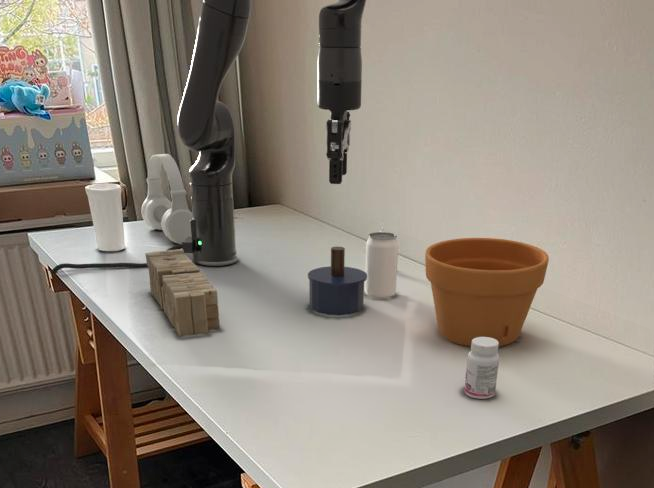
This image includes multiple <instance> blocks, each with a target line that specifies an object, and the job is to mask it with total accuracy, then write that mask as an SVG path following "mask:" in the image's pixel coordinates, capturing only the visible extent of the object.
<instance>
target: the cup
mask: <svg viewBox="0 0 654 488" xmlns="http://www.w3.org/2000/svg"><path fill="white" fill-rule="evenodd" d="M84 190H85V193H86V196H87V199H88V204H89V209H90V210H89V211H90V215H91V221H92V226H93V231H94V237H95V241H96V245H97V249H98V250H99V251H103V252H117V251H121V250H124V249H125V248H126V242H125V241H126V240H125V228H124V217H123V205H122V186H121V185H120V184H117V183H92V184H89V185H86V186H85V187H84Z"/></svg>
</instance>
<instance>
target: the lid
mask: <svg viewBox="0 0 654 488" xmlns="http://www.w3.org/2000/svg"><path fill="white" fill-rule="evenodd" d="M345 253H346V248H345V247H344V246H338V245H337V246H332V247H330V266H322V267H321V266H320V267H317V268H314V269H311V270H309V272H308V273H307V279H308V280H311V281H312V282H315V283H318V284H322V285H329V286H349V285H356V284H360V283H362V282H364V283H365V281H366V279H367V274H366V273H365V270H364V271H363V270H362V269H360V268H357V267H350V266H345V258H346V257H345V255H346V254H345Z"/></svg>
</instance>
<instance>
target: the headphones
mask: <svg viewBox="0 0 654 488" xmlns="http://www.w3.org/2000/svg"><path fill="white" fill-rule="evenodd" d="M162 166H163V168H164V171H165V173H166V177H167V180H168V184H169V188H170V189H169V190H170V191H169V194H170V197H171V200H169V199H168V198H167V197H166V196H165V195H164V190H163V187H162V181H163V180H162V177H161V176H162V175H161V174H162V173H161V172H162ZM147 167H148V168H147V178H146V183H147V195H146V198H145V199H144V201H143V202H142V205H141V208H140V209H141V210H140V213H141V217H142V219H143V221H144V223H145V224H146V225H147V226H148V227H150V228H152V229H155V230H157V231H158V230H159V231H162V232H163V234H164V235H165V236H166V238H168V239H169V240H170V241H171V242H172V243H175V244H177V245H180V244H182V242H183V241H184V240H185V239H186V238H187V237H191V225H190V220H191V219H193V216H192V211H191V210H190V208H189V205H188V202H187V196H186V195H187V191H186V189H185V186H184V182H183V178H182V175H181V172H180V169H179V166H178V164H177V161H175V159H174V157H173V156H172V155H170V154H169V153H160V154H159V153H158V154H153V155H151V157H150V159H149V162H148V166H147Z"/></svg>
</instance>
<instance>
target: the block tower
mask: <svg viewBox="0 0 654 488" xmlns="http://www.w3.org/2000/svg"><path fill="white" fill-rule="evenodd" d="M145 261H146V263H147V266H148V267H147V268H148V275H149V276H148V278H149V289H150V292H151V295H152V296H153V297H154V298H155V301H157V303H158V304H159V306H160V309H161V310H163V313H164V314H165V315H166V317H167V319H168V320H169V322H170V324H171V326H172V327H173V328H174V329H175V331H176V332H177V334H178V336H179V337H185V336H193V335H203V334H208V333H209V331H210V330H211V331H212V330H218V329H220V318H219V317H220V314H219V313H220V312H219V305H218V304H219V301H218V300H219V299H218V290H217V289H216V288H215V287H214V285H213V284H212V283H211V281H209V280H208V278H207V277H206V276H205V274H203V272H201V270H200V268H199V267H197V266H196V263H194V261H192V259H191V258H189V256H188V255H187V253H184V250H183V248H182V249H177V250H168V251H166V250H159V251H148V252H145Z"/></svg>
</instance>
